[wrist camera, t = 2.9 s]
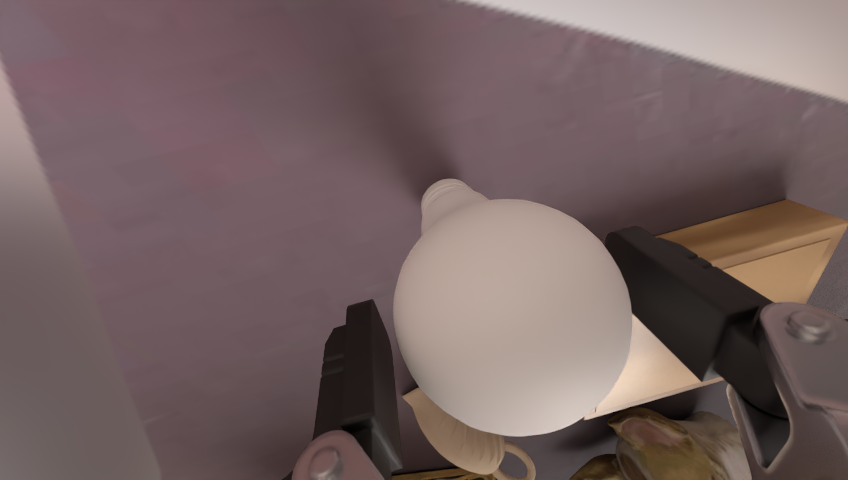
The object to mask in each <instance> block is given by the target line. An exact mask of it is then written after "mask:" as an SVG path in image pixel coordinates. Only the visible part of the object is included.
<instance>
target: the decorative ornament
mask: <svg viewBox="0 0 848 480" xmlns="http://www.w3.org/2000/svg"><path fill="white" fill-rule="evenodd" d="M402 397H403V398H404V399H405V400H406V401H407V402H408V403H409V404H410V405H411V406H412V408H413V411H414V413H415V416H416V419H417V422H418V424H419V426H420V428H421V430H422V432H423V433H424V435H425V436H426V438H427V439H428V440H429V442H430V443H431V444H432V445H433V447H434V448H435V449H436V450H437V451H438V452H439V453H440V454H441V455H442V456H443V457H445V458H446V459H447V460H448V461H450V462H451V463H453V464H455V465H456V466H458V467H460V468H463V469H465V470H467V471H470V472H473V473H477V474H482V475H487V474H491V473H492V474H493V475H494V476H495V477H496V478H497V479H498V480H534V479H535V475H536V472H535V466H534V463H533V462H532V460H531V458H530V457H529V456H528V454H527V453H526V452H525V451H524V450H523V449H521V448H520V447H519V446H517V445H515V444H513V443H511V442H509V441H504V435H499V434H495V433H490V432H485V431H481V430H478V429H475V428H472V427H470V426H468V425H466V424H465V423H463V422H461V421H459V420H458V419H456V418H454V417H453V416H451V415H450V414H448V413H446V412H445V411H443V410H442V409H441V408H440V407H439V406H438V405H436V404H435V403H434V402H433V401H432V400H431V399H430V398H429V397H428V396H427V395H426V394H425V393H424V392H423V391H422V390H421V389H420V388H419V387H418V388H416V389H415V390H413V391H411V392H409V393H408V394H406V395H404V396H402ZM505 451H507V452H511V453H513V454H515V455H516V456H518V457H519V458H520V459H522V460H523V461H524V463H525V464H526V466H527V469H528V473H527V475H526V476H525V477H524V478H513V477H510V476H508V475H506V474H505V473H504V472H502V471H501V470H500V469H499V468H498V467H499V465H500V463H501V461H502V459H503V457H504V452H505Z"/></svg>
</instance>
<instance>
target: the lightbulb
mask: <svg viewBox="0 0 848 480" xmlns="http://www.w3.org/2000/svg"><path fill="white" fill-rule="evenodd" d="M421 211H422V218H423V219H422V224H421V233H422V237H421V238H420V239H419V240H418V242H417V243H416V244H415V246H414V247H413V248H412V250H411V252H410V253H409V255H408V257H407V258H406V260H405V262H404V264H403V265H402V269H401V272H400V275H399V278H398V281H397V285H396V290H395V294H394V303H393V321H394V329H395V335H396V340H397V345H398V347H399V350H400V352H401V355H402V357H403V360H404V362H405V364H406V366H407V368H408V370H409V372H410V373H411V375H412V377H413V378H414V380H415V381H416V383H417V384H418V386H419V388H420V389H421V390H422V391H423V392H424V393H425V394H426V395H427V396H428V397H429V398H430V399H431V400H432V401H433V402H434V403H435V404H436V405H438V406H439V407H440V408H441V409H442V410H443V411H445V412H446V413H448V414H450V415H451V416H453V417H454V418H456V419H458V420H459V421H461V422H463V423H465V424H466V425H468V426H470V427H472V428H475V429H478V430H481V431H485V432H490V433H495V434H499V435H506V436H529V435H538V434H545V433H550V432H554V431H557V430H560V429H562V428H565V427H567V426H569V425H571V424H573V423H575V422H577V421H578V420H580V419H581V418H583V417H584V416H586V415H587V414H588V413H589V412H590V411H592V410H593V409H594V408H595V407H596V406H597V405H598V404H599V403H601V402H602V401H603V400H604V399H605V397H606V396H607V395H608V394H609V393H610V392H611V390H612V388H613V387H614V385H615V383H616V382H617V380H618V378H619V376H620V374H621V372H622V371H623V369H624V367H625V365H626V362H627V359H628V356H629V351H630V344H631V336H632V324H633V321H632V311H631V302H630V297H629V293H628V288H627V286H626V283H625V281H624V279H623V276H622V274H621V272H620V270H619V268H618V266H617V264H616V263H615V261H614V259H613V258H612V256H611V255H610V253H609V252H608V250H607V249H606V248H605V246H604V245H603V243H602V242H601V241H600V240H599V239H598V238H597V237H596V236H595V235H594V234H593V233H591V232H590V231H589V230H588V229H587V228H586V227H584V226H583V225H582V224H581V223H580V222H578V221H577V220H576V219H574V218H572V217H570V216H568V215H566V214H564V213H562V212H561V211H559V210H556V209H553V208H551V207H548V206H545V205H543V204H539V203H535V202H531V201H527V200H511V199H500V200H488V199H487V198H486V197H485V196H483V195H482V194H480V193H478V192H475V191H473V190H472V189H471V188H470V187H469V186H468V185H466V184H465V183H464V182H462V181H460V180H457V179H443V180H440V181H437V182H436V183H434V184H433V185H431V186H430V187H429V188H428V189H427V190H426V192H425V194H424V195H423V198H422V201H421Z"/></svg>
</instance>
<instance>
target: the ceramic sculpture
mask: <svg viewBox="0 0 848 480" xmlns="http://www.w3.org/2000/svg"><path fill="white" fill-rule="evenodd" d="M607 423H608V425H610V426H611V427H613V429H614V431H615V432H616V434H617V436H619V437H620V438H619V440H618V442H617V446H616V454H604V455H599V456H596V457H594V458H593V459H591V460H589V461H588V462H587V463H586V464H585V465H584V466H582V467H581V468H580V469H579V470H578V471H577V472H576V473H575V474H574V475H573V476H572V477H571V478H570V479H569V480H752V477H751V472H750V468H749V465H748V461H747V458H746V455H745V452H744V448H743V445H742V442H741V439H740V436H739V432H738V429H737V428H735V427H734V426H733V425H732V424H731V423H730V422H728V421H727V420H725V419H723V418H722V417H720V416H718V415H715V414H713V413H710V412H705V411H699V412H696V413H694V414H693V415H691V416H690V417H688V418H686V419H685V420H684V421H676V420H670V419H668V418H666V417H664V416H662V415H661V414H659V413H657V412H655V411H652V410H649V409H646V408H641V407H635V408H630V409H627V410H624V411H621V412H620V413H618V414H617V415H615V416H613V417H611V418H610V419H608V420H607Z"/></svg>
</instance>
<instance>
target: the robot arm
mask: <svg viewBox="0 0 848 480" xmlns="http://www.w3.org/2000/svg"><path fill="white" fill-rule="evenodd" d="M605 248H606V249H607V250H608V252H609V253H610V255H611V256H612V258H613V259H614V261H615V263H616V264H617V266H618V268H619V270H620V272H621V274H622V276H623V279H624V281H625V283H626V286H627V288H628V293H629V297H630V302H631V311H632V314H633V315H634V316H635V317H636V318H637V319H638V320H639V321H640V322H641V323H642V324H643V325H644V326H645V327H646V328H647V329H648V330H650V331H651V332H652V333H653V334H654V335H655V336H656V337H657V338H658V339H659V340H660V341H661V342H662V343H663V344H664V345H665V346H666V347H667V348H668V349H669V350H670V351H671V352H672V353H673V354H674V355H675V356H676V357H677V358H678V359H679V360H680V361H681V362H682V363H683V364H684V365H685V366H686V367H687V368H688V369H689V370H690V371H691V372H692V373H693V374H694V375H695V376H696V377H697V378H698V379H699V380H700V381H701V382H704V381H708V380H711V379H715V378H718V377H722V378H723V379H724V380H726V381H727V382H728V383H729V384H728V387H727V397H728V400H729V403H730V406H731V410H732V413H733V416H734V419H735V423H736V426H737V429H738V432H739V436H740V439H741V442H742V445H743V448H744V452H745V455H746V458H747V461H748V465H749V468H750V472H751V477H752V480H848V319H843V318H841V317H839V316H837V315H836V314H833V313H831V312H829V311H827V310H824V309H821V308H818V307H815V306H812V305H807V304H803V303H796V302H777V303H774V302H773V301H771V300H769V299H768V298H766V297H765V296H763V295H761V294H760V293H758V292H757V291H755V290H753V289H752V288H750V287H748V286H747V285H745V284H744V283H742V282H740V281H739V280H737V279H736V278H734V277H732V276H731V275H729V274H728V273H726V272H724V271H723V270H721V269H720V268H718V267H716V266H715V267H713V266H712V264H711V263H710V262H708V261H707V260H705V259H703V258H702V257H698V255H697V254H695V253H694V252H692V251H691V250H689V249H687V248H686V247H684V246H683V245H681V244H678V243H675V242H672V241H669V240H666V239H663V238H660V237H658V238H656V237H654V236H653V235H651V234H650V233H648V232H647V231H645V230H644V229H642V228H640V227H638V226H633V227H629V228H626V229H622V230H619V231H615V232H612V233H609V234H608V235H607V237H606V245H605ZM323 361H324V364H323V366H322V378H321V381H320V389H319V397H318V405H317V413H316V420H315V428H314V434H313V439H312V442H311V443H310V444H309V445H308V446H307V447H306V448H305V449H304V451H303V452H302V453H301V455H300V457H299V458H298V460H297V462H296V464H295V467H294V470H293V471H292V472H291V473H290V474H289V475H288V476H286V477H285V478H283V479H282V480H392V477H391V472H392V471H395V470H398V469H402V468H403V463H402V452H401V442H400V431H399V420H398V410H397V399H396V389H395V378H394V367H393V357H392V349H391V344H390V340H389V337H388V334H387V331H386V329H385V327H384V324H383V322H382V319H381V317H380V314H379V312H378V309H377V307H376V305H375V302H374V301H373V300H372V299H371V300H367V301H364V302H360V303H357V304H353V305H350V306H348V307H347V314H346V325H344V326H340V327H337V328H334V329H333V331H332V333H331V335H330V336H329V338H328V340H327V342H326V344H325V350H324V358H323Z"/></svg>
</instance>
